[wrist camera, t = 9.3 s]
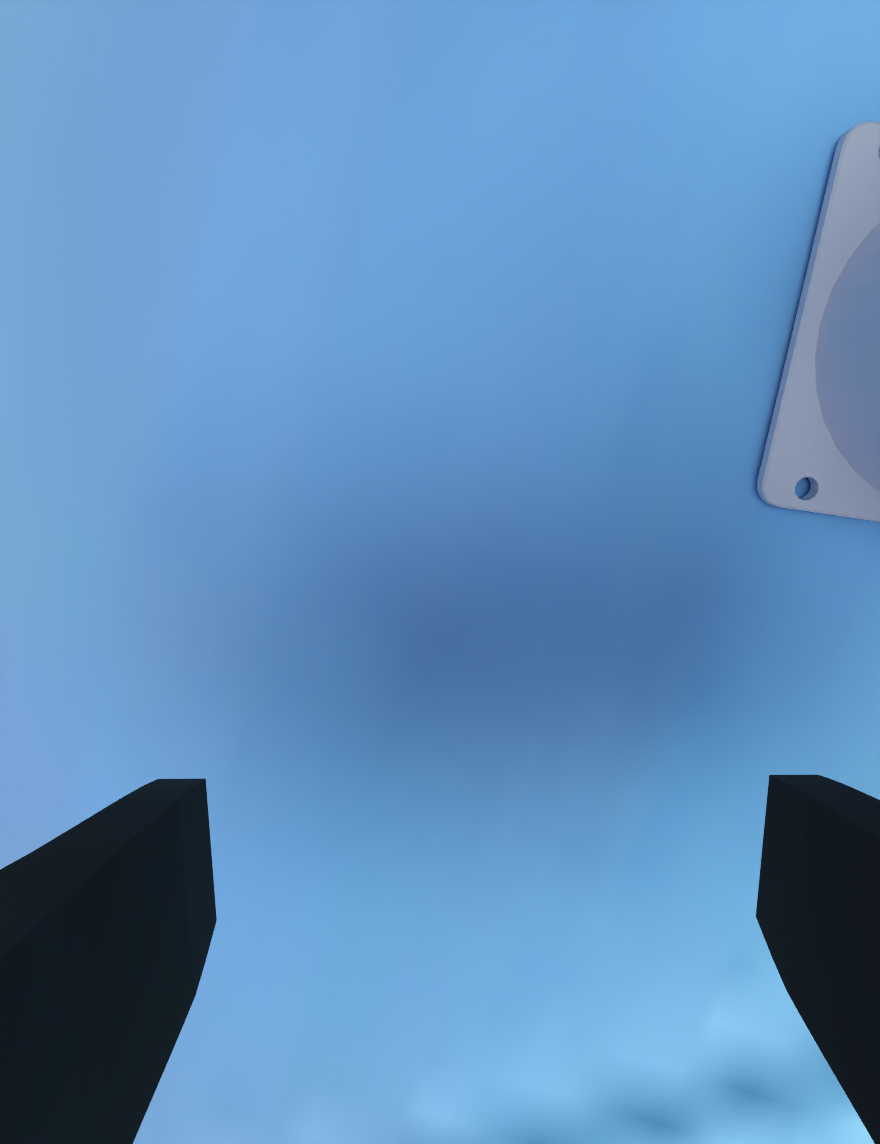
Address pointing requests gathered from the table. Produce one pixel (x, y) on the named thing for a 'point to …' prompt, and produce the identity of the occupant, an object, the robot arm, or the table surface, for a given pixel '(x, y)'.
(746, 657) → the table surface
